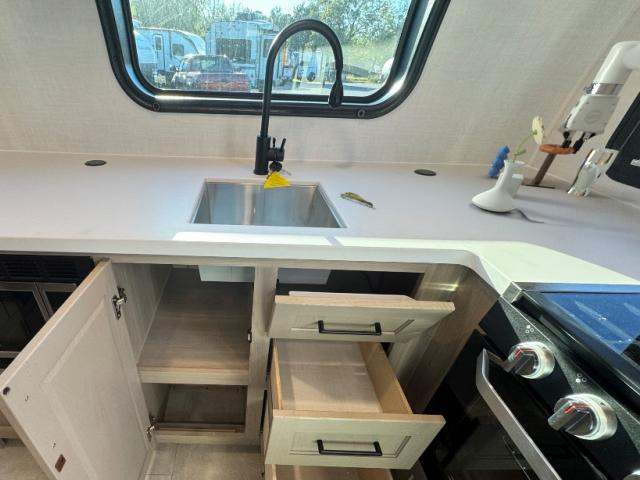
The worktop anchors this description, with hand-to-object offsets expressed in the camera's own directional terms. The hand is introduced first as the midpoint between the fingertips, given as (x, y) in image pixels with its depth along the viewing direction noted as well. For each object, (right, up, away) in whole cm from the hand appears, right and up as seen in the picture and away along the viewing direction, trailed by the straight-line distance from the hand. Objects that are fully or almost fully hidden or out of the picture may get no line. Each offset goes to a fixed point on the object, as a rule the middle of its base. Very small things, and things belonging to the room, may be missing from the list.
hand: (567, 152), depth 111 cm
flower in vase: (-37, -24, -13) cm, 46 cm away
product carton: (-27, -17, -4) cm, 32 cm away
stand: (-4, -9, +8) cm, 13 cm away
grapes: (-13, -3, +16) cm, 21 cm away
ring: (-3, +1, +1) cm, 4 cm away
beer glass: (+2, -16, -1) cm, 16 cm away
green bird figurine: (-78, -21, -10) cm, 82 cm away
